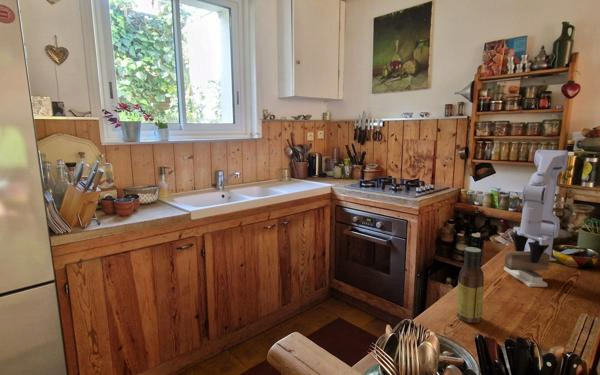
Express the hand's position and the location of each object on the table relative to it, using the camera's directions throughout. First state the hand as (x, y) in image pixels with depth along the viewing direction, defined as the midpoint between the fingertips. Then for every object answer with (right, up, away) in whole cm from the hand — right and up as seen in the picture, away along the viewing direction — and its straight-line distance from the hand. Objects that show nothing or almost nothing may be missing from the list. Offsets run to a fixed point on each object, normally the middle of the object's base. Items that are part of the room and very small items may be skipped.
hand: (526, 258), depth 119 cm
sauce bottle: (-33, -12, -25) cm, 43 cm away
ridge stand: (0, -7, +1) cm, 7 cm away
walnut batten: (0, -4, +1) cm, 4 cm away
